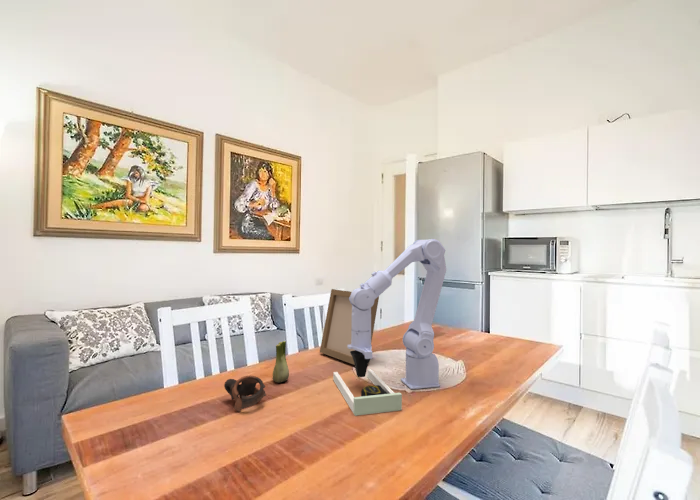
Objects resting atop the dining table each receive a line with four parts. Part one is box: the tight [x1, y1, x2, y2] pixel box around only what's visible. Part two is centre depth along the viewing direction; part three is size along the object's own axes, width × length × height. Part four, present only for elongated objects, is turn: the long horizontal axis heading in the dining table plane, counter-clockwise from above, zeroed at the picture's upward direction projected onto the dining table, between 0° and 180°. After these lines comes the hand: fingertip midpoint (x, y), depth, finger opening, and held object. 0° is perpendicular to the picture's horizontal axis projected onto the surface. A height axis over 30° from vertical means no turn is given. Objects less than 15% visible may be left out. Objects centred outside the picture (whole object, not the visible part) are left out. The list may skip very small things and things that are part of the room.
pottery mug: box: [223, 375, 267, 413], centre depth 92 cm, size 12×10×8 cm
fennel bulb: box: [271, 340, 290, 384], centre depth 109 cm, size 6×5×12 cm
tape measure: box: [360, 385, 388, 397], centre depth 94 cm, size 7×7×4 cm
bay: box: [332, 368, 403, 417], centre depth 100 cm, size 12×24×4 cm, turn 15°
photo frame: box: [319, 288, 380, 366], centre depth 133 cm, size 15×22×25 cm
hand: (360, 376), depth 103 cm, fingers closed
